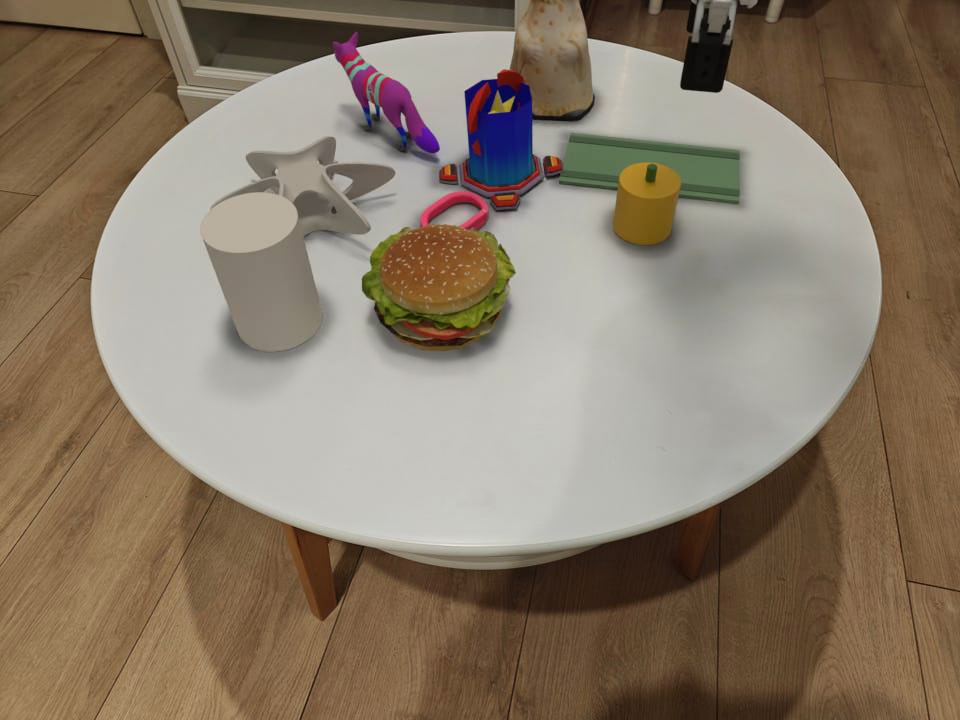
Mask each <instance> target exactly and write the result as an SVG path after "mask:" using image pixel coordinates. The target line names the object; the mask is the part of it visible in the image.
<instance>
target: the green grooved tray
mask: <svg viewBox="0 0 960 720" xmlns="http://www.w3.org/2000/svg"><path fill="white" fill-rule="evenodd" d="M568 140H569V141H568V144H567V147H566V152H565V156H564V159H563V162H562V164H563V169H564V172H562V173H559V179H558V184H562V185H571V186H581V187H588V188H589V187H590V188H597V189H606V190H616V191H617V190H618V183H619V177H620V174H621V172H622V171H623V170H624V169H625V168H627V167H628V166H630V165H633V164H637V163H657V164H661V165H664V166H667V167H669V168H670V169H672V170H674V171H675V172H676V173H677V174H678V176H679V177H680V180H681V187H680V191H679V196H678V198H686V199H693V200H703V201H712V202H721V203H728V204H740V196H741V195H740V193H741V192H740V191H741V189H740V159H741V158H740V156H741V154H740V153H741V152H740V150H739V149H731V148H723V147H722V148H721V147H714V146H713V147H712V146H702V145H693V144H684V143H683V144H682V143H674V142H663V141H656V140H655V141H652V140H644V139H634V138H627V137H626V138H624V137H623V138H622V137H615V136H607V135H598V134H597V135H596V134H585V133H577V132H571V134H570V136H569V139H568Z"/></svg>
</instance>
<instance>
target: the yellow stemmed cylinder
mask: <svg viewBox="0 0 960 720" xmlns="http://www.w3.org/2000/svg"><path fill="white" fill-rule="evenodd" d="M680 187H681V180H680V177H679V176H678V174H677V173H676V172H675V171H674V170H672V169H670V168H669V167H667V166H664V165H661V164H657V163H637V164H633V165H630V166H628V167H627V168H625V169H624V170H623V171H622V172H621V174H620V177H619V183H618V190H616V198H615V204H614V205H615V206H614V213H613V219H612V220H613V221H612V228H613V230H614V232H615V234H616V235H617V236H618V237H619V238H621V239H622V240H624V241H626V242H628V243H630V244H634V245H639V246H652V245H657V244H659V243H662V242H664V241H665V240H667V238H669V236H670V235H671V233H672V228H673V224H674V219H675V214H676V211H677V206H678V200H679V197H678V196H679V191H680Z"/></svg>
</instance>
